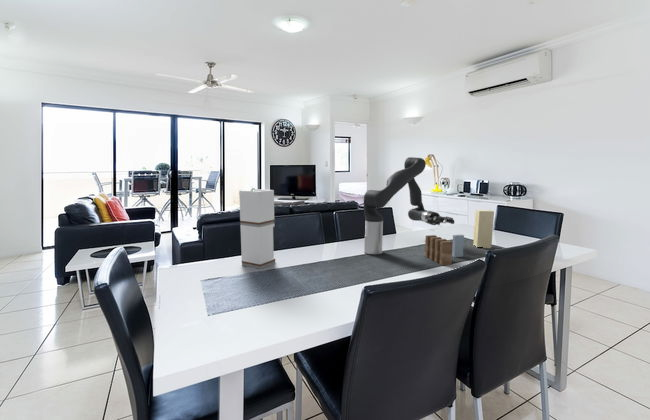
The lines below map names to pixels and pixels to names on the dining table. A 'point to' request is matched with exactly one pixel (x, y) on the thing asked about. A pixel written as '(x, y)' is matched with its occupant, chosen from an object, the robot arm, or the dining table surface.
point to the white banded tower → (257, 227)
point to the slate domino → (458, 245)
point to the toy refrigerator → (483, 228)
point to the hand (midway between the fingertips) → (446, 222)
